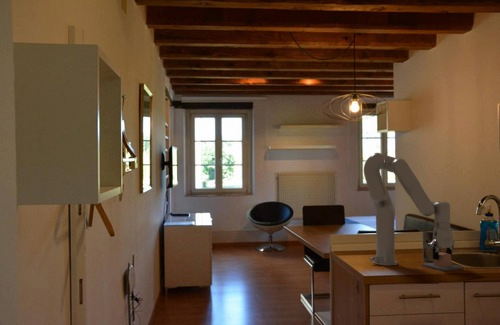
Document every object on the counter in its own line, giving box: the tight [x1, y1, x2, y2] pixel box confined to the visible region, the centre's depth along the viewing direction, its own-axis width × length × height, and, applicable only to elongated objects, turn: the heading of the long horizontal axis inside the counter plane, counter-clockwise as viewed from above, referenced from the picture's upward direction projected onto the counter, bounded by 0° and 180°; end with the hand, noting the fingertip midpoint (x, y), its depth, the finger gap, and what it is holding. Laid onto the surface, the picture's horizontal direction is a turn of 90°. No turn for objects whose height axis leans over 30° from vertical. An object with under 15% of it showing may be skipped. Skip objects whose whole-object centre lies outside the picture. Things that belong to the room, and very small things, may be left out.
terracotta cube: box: [432, 251, 452, 267], centre depth 227 cm, size 6×6×6 cm
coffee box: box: [422, 230, 442, 262], centre depth 244 cm, size 9×6×16 cm
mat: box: [421, 262, 464, 272], centre depth 227 cm, size 14×14×1 cm
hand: (442, 258), depth 227 cm, fingers open, 9 cm apart
